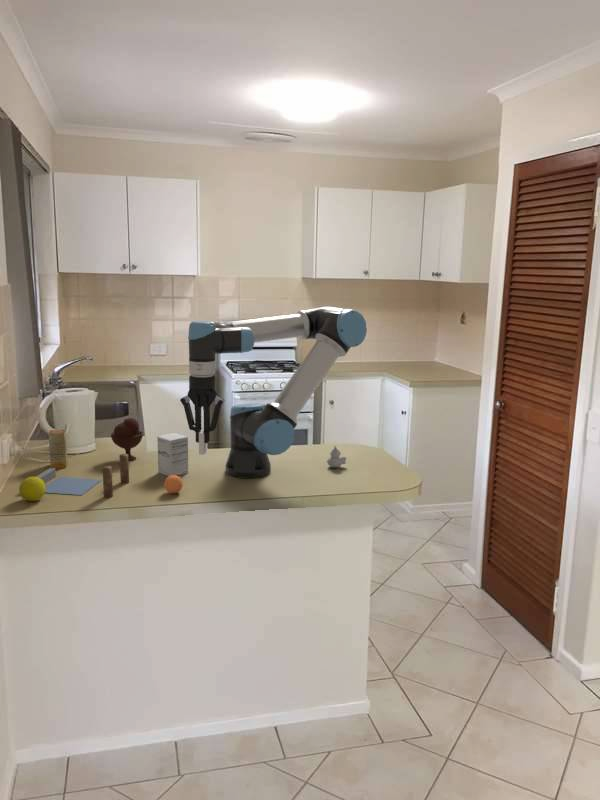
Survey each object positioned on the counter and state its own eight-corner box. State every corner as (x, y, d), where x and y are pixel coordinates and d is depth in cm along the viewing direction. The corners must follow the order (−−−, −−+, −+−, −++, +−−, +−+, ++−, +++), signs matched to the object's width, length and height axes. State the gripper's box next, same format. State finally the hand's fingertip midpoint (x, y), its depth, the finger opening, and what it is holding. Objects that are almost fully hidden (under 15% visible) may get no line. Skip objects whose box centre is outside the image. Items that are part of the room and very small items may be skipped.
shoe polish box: (67, 463, 224) (65, 429, 221) (66, 467, 219) (64, 433, 217) (52, 464, 223) (49, 430, 220) (50, 468, 218) (48, 434, 215)
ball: (185, 490, 200) (184, 473, 199) (179, 496, 195) (179, 479, 194) (167, 489, 201) (167, 472, 200) (161, 495, 196) (161, 477, 194)
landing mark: (101, 480, 208) (101, 479, 208) (81, 495, 194) (81, 494, 194) (60, 477, 210) (60, 476, 210) (37, 492, 196) (37, 491, 196)
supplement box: (157, 472, 216) (156, 436, 213) (175, 468, 221) (174, 432, 219) (170, 478, 211) (169, 440, 208) (189, 473, 216) (188, 436, 214)
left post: (114, 495, 195) (113, 466, 193) (110, 498, 193) (109, 469, 191) (106, 494, 195) (104, 465, 194) (102, 497, 193) (101, 468, 191)
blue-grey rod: (55, 476, 211) (55, 468, 210) (29, 493, 195) (28, 485, 195) (50, 475, 211) (49, 468, 211) (23, 492, 196) (22, 484, 195)
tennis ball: (42, 504, 187) (40, 481, 185) (16, 504, 186) (14, 481, 185) (49, 495, 194) (47, 473, 192) (24, 496, 193) (23, 473, 192)
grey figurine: (325, 465, 227) (326, 443, 226) (344, 464, 228) (345, 442, 226) (328, 470, 222) (329, 447, 220) (347, 469, 223) (348, 447, 221)
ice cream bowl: (134, 453, 237) (132, 413, 234) (149, 460, 229) (148, 418, 226) (106, 458, 230) (104, 417, 226) (122, 466, 222) (120, 423, 218)
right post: (130, 481, 207) (129, 454, 205) (127, 483, 205) (126, 456, 203) (122, 480, 208) (121, 453, 206) (119, 483, 205) (118, 456, 203)
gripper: (176, 376, 186) (177, 455, 191) (220, 378, 184) (220, 458, 189) (184, 371, 193) (185, 448, 198) (227, 373, 192) (227, 451, 197)
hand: (202, 453), depth 194 cm, fingers closed
